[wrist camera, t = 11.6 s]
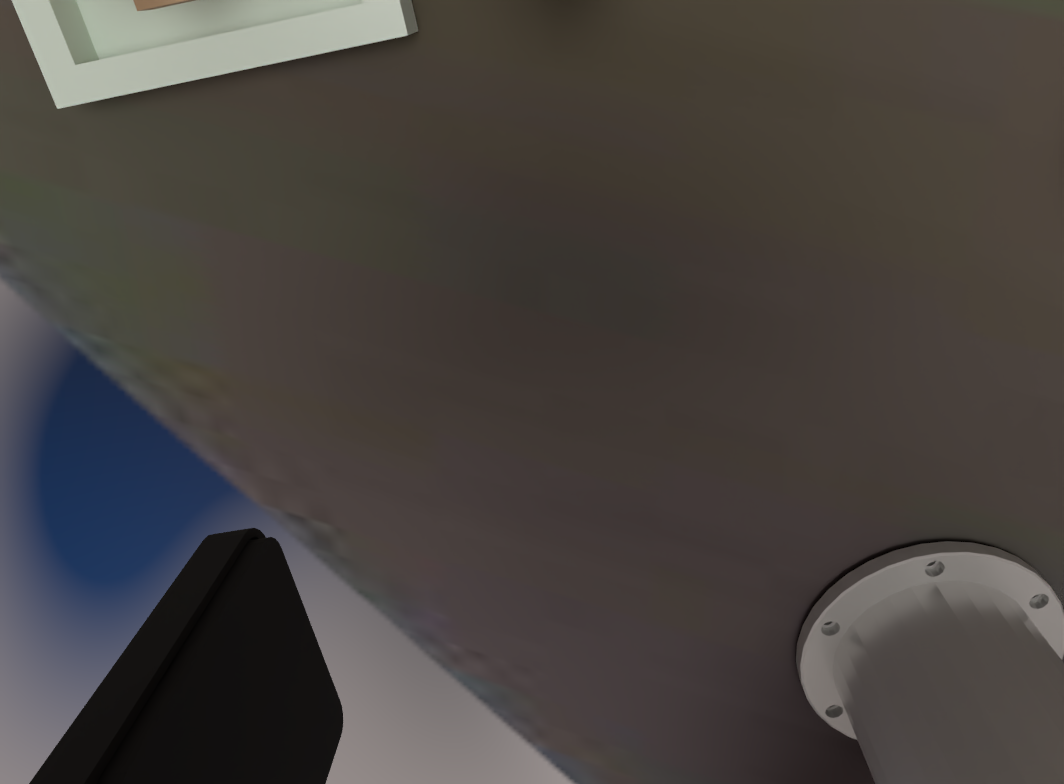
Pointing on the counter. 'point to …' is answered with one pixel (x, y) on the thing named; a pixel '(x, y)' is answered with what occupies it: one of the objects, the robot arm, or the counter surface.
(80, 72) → the tray
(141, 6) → the ring
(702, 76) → the counter surface
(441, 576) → the counter surface
